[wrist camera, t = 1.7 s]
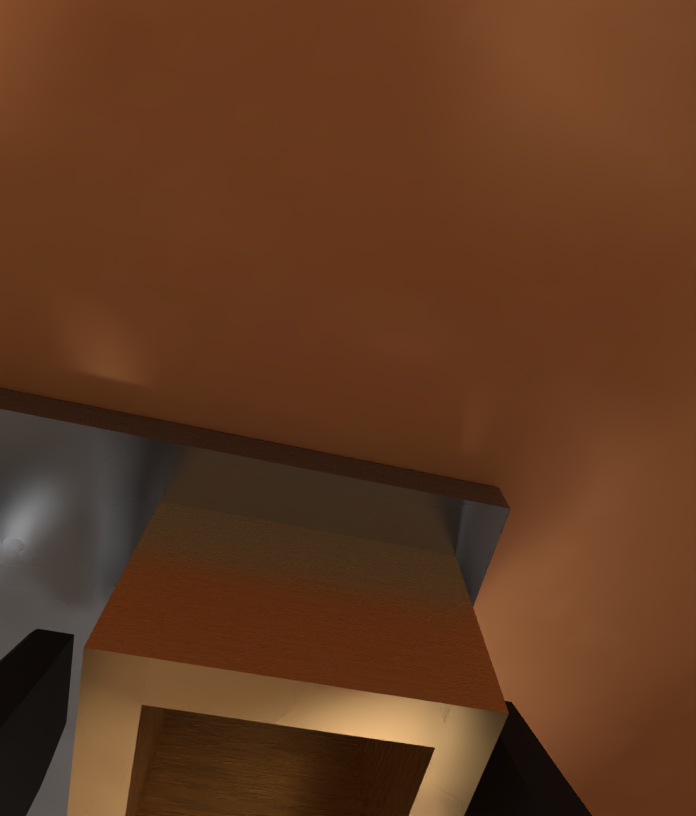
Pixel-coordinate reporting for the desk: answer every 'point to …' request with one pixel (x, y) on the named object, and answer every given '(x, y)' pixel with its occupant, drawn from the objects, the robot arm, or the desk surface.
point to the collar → (282, 677)
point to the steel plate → (191, 486)
